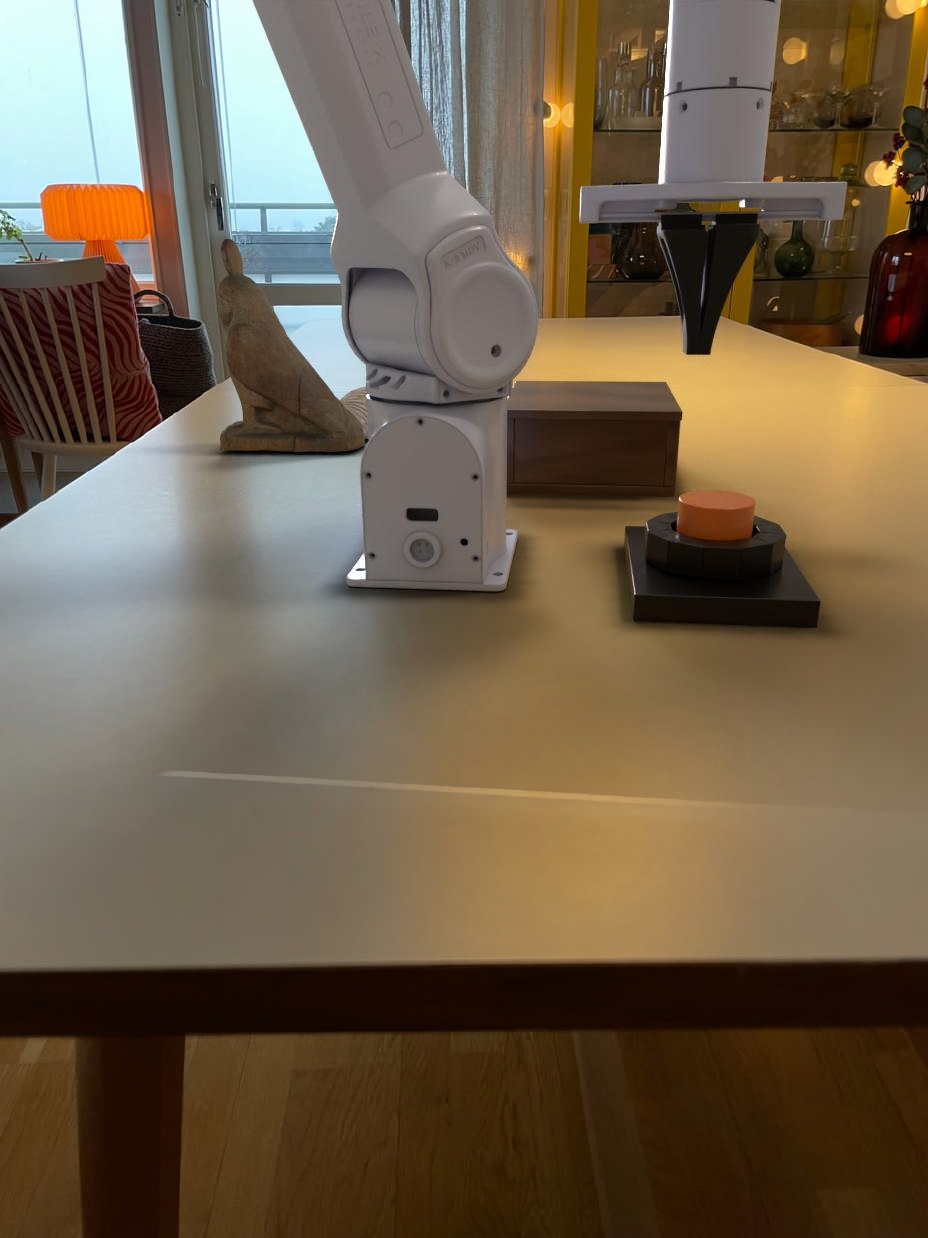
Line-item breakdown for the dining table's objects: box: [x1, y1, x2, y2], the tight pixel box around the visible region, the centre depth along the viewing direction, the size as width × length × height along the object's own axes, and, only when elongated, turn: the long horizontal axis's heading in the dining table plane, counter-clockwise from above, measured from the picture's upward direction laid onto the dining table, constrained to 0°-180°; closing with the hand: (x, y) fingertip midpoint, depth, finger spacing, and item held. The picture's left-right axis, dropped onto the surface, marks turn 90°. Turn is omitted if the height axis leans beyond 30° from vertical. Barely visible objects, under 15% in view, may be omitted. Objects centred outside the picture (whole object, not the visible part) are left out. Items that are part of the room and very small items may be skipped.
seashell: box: [339, 386, 369, 441], centre depth 85 cm, size 10×6×10 cm
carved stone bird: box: [216, 238, 366, 453], centre depth 76 cm, size 12×6×18 cm, turn 82°
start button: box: [676, 489, 757, 541], centre depth 45 cm, size 4×4×2 cm
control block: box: [623, 511, 821, 629], centre depth 46 cm, size 11×8×3 cm
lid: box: [507, 380, 684, 421], centre depth 67 cm, size 13×12×1 cm
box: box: [507, 419, 682, 498], centre depth 68 cm, size 13×12×5 cm
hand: (696, 353), depth 56 cm, fingers closed
